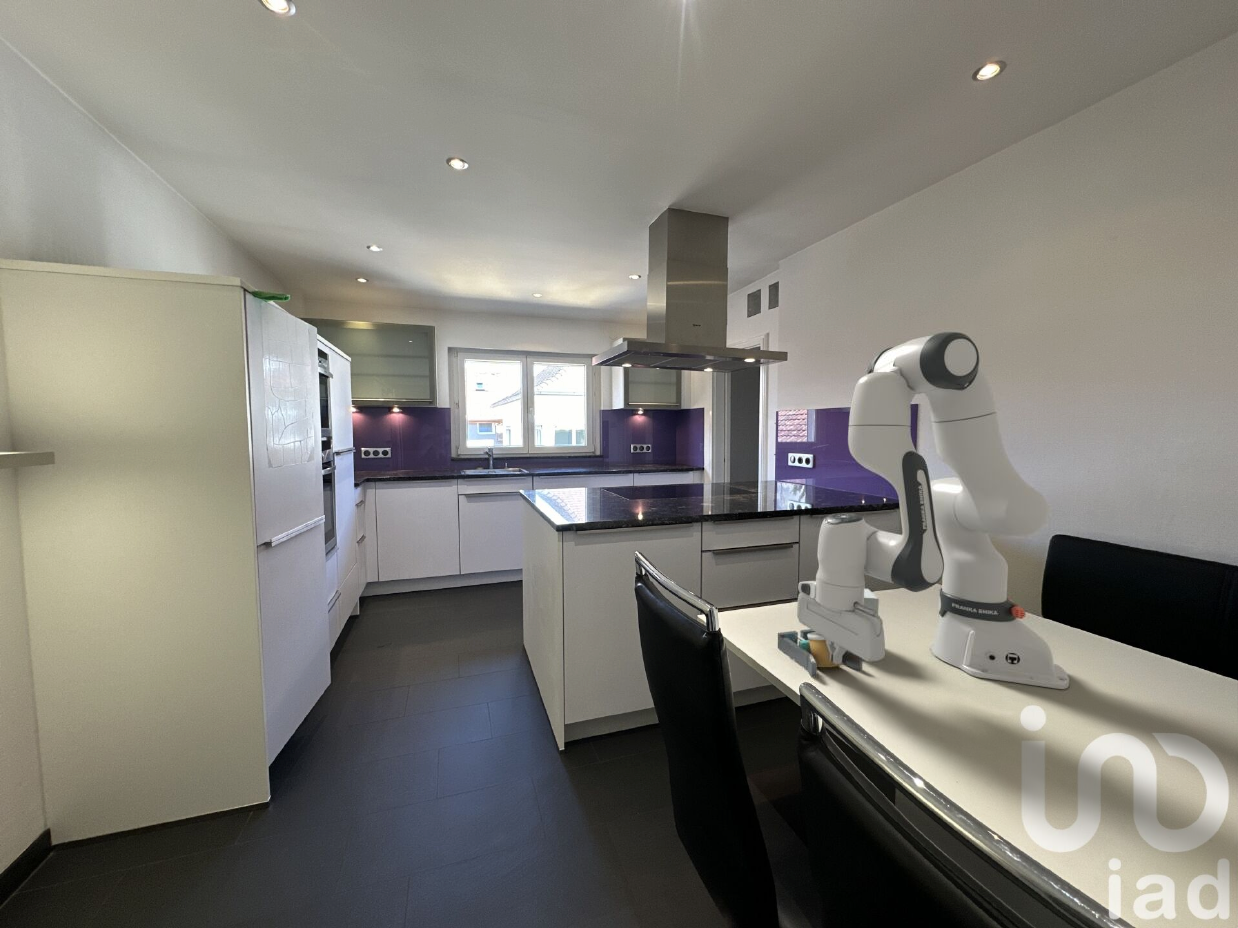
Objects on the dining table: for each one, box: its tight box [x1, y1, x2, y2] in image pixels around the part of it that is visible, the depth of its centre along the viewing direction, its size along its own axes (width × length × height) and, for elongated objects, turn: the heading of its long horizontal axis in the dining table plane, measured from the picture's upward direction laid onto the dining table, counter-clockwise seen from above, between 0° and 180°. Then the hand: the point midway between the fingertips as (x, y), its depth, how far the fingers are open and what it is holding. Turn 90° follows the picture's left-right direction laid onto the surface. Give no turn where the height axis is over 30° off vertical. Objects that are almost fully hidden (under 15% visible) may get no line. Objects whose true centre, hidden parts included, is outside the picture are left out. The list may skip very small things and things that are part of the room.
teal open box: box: [798, 635, 812, 655], centre depth 104 cm, size 8×7×4 cm
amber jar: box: [807, 632, 843, 668], centre depth 97 cm, size 6×6×6 cm
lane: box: [777, 628, 864, 678], centre depth 101 cm, size 13×12×4 cm
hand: (835, 662), depth 94 cm, fingers closed, pressing on amber jar
